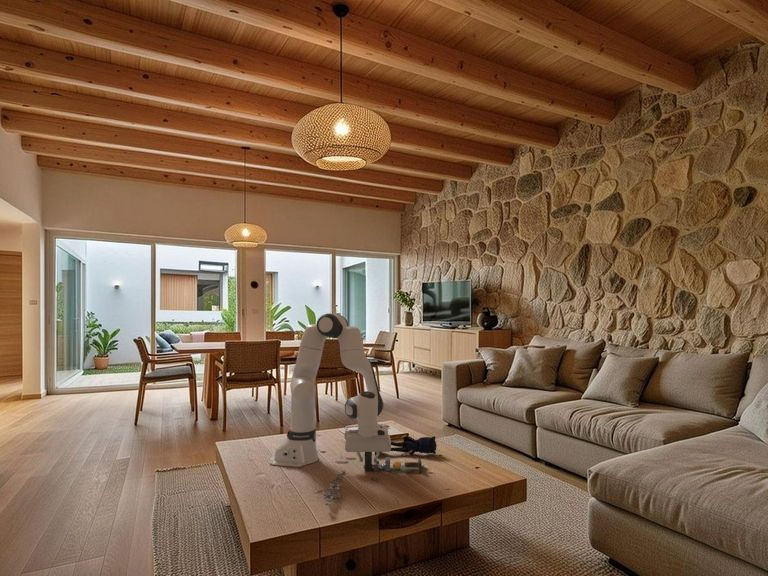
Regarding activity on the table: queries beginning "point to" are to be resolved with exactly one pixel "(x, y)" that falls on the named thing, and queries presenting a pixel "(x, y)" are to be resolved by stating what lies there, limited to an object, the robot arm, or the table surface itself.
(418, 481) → the table surface
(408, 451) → the toy
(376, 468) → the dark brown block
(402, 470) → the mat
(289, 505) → the table surface
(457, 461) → the table surface
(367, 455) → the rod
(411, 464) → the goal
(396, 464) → the ball
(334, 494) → the carved scroll ornament
